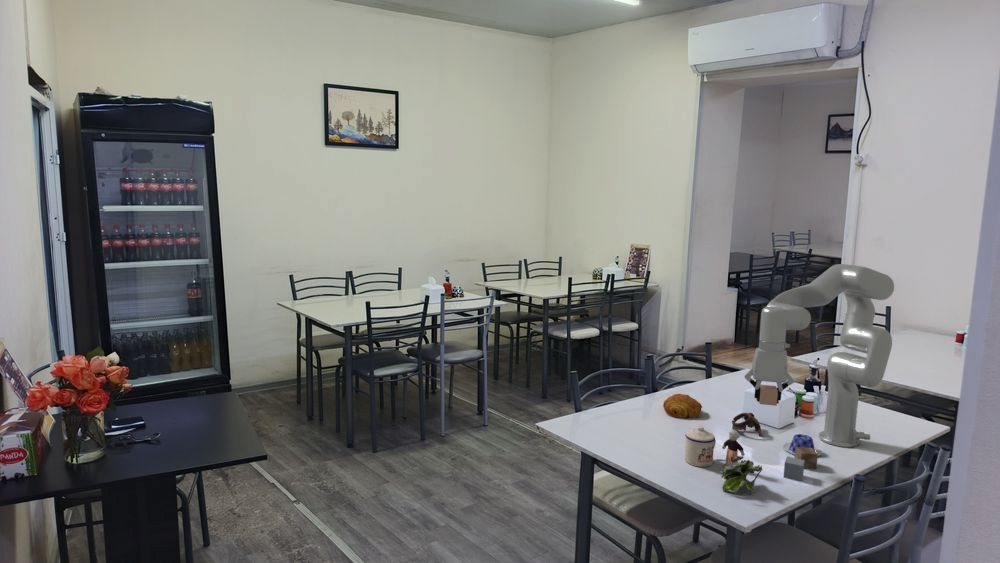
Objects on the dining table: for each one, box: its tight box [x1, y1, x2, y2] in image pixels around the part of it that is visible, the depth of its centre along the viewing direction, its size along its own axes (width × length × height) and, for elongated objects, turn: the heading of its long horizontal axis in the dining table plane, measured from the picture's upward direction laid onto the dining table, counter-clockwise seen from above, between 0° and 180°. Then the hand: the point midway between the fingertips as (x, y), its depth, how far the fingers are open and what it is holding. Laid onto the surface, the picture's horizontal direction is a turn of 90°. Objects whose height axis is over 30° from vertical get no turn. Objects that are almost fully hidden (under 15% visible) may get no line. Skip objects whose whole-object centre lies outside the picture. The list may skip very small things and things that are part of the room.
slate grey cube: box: [783, 456, 805, 482], centre depth 196 cm, size 5×5×5 cm
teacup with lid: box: [684, 425, 717, 468], centre depth 206 cm, size 12×9×12 cm
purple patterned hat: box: [782, 433, 823, 457], centre depth 216 cm, size 12×12×5 cm
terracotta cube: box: [758, 383, 778, 407], centre depth 204 cm, size 5×5×5 cm
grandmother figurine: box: [721, 429, 745, 468], centre depth 201 cm, size 8×4×13 cm, turn 47°
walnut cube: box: [794, 447, 819, 470], centre depth 204 cm, size 5×5×5 cm
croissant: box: [662, 393, 703, 419], centre depth 250 cm, size 14×16×8 cm
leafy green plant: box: [719, 455, 763, 496], centre depth 187 cm, size 11×11×12 cm
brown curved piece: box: [731, 412, 763, 438], centre depth 232 cm, size 12×10×8 cm
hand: (767, 400), depth 204 cm, fingers closed on terracotta cube, 5 cm apart
